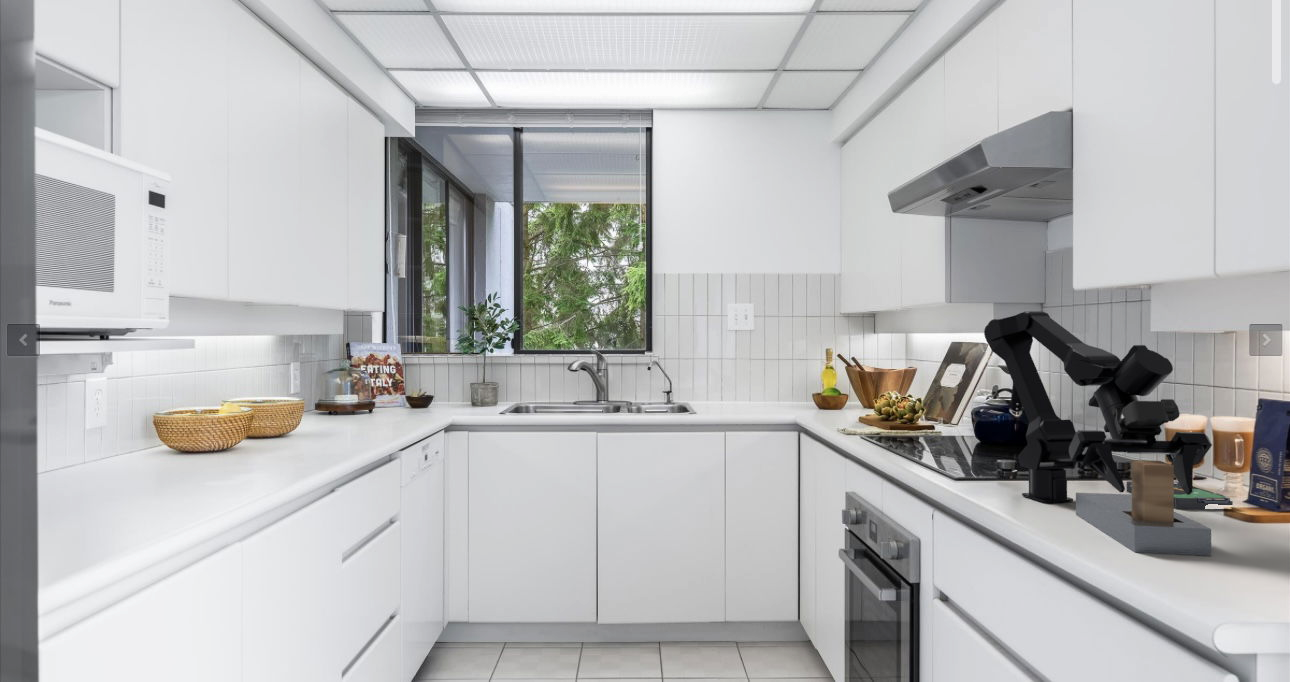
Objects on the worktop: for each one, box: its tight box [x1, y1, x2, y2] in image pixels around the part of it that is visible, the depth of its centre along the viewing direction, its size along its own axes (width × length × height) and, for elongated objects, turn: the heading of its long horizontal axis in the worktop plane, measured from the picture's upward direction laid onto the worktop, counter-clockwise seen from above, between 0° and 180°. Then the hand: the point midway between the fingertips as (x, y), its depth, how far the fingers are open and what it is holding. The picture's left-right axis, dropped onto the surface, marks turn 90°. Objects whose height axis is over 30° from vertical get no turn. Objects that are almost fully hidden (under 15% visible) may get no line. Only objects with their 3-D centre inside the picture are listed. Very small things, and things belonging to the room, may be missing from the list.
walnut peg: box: [1131, 459, 1175, 522], centre depth 108 cm, size 4×4×12 cm
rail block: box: [1075, 492, 1212, 557], centre depth 113 cm, size 22×10×4 cm, turn 168°
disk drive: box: [1126, 480, 1234, 511], centre depth 135 cm, size 10×3×15 cm
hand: (1156, 492), depth 107 cm, fingers open, 9 cm apart
